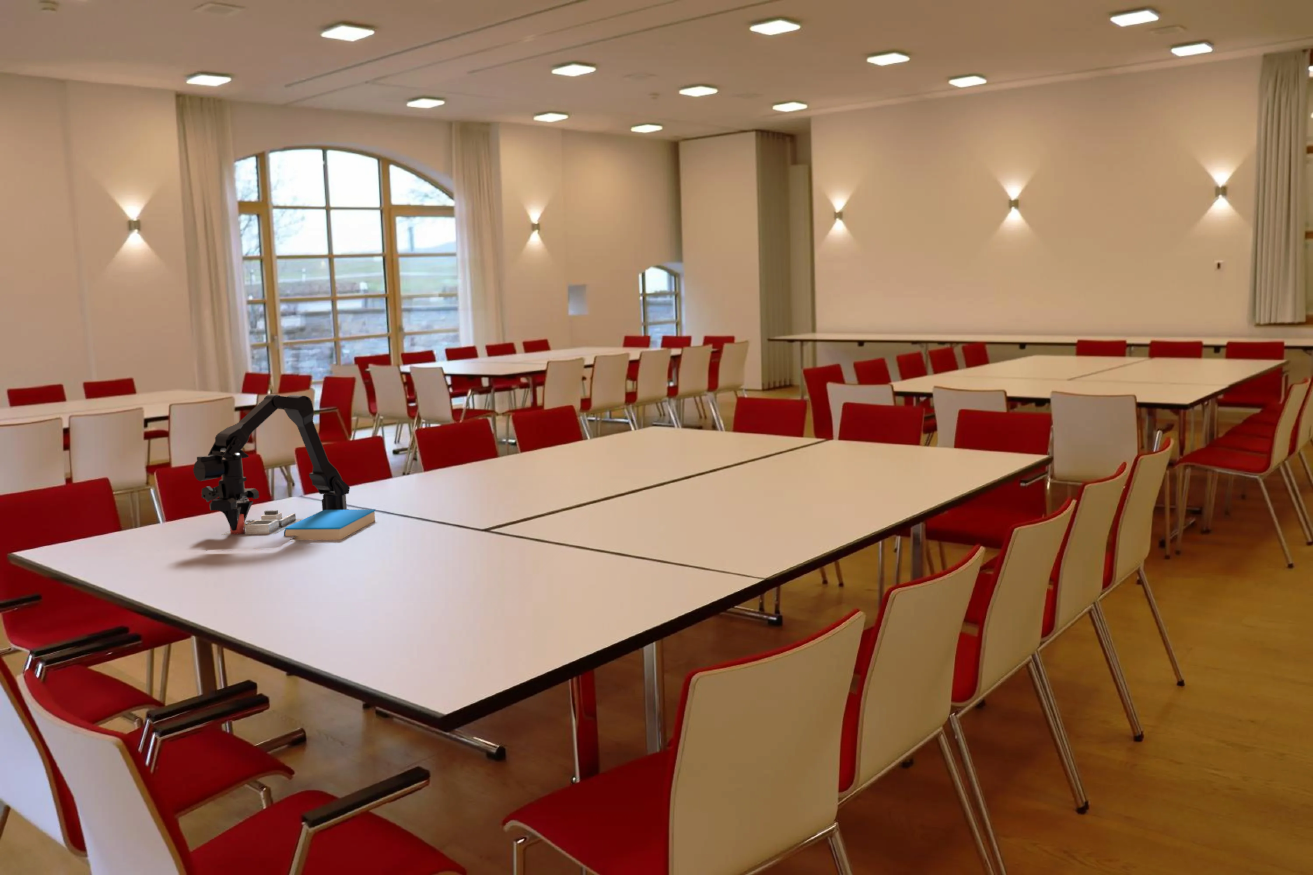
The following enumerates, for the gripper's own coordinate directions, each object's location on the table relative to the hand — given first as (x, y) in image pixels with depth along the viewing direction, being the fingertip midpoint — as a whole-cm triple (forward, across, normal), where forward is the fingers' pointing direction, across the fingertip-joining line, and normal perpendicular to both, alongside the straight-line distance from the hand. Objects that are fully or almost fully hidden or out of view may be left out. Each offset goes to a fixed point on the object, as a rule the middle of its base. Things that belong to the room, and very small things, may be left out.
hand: (237, 528), depth 311 cm
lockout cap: (+1, 0, 0) cm, 1 cm away
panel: (+2, -7, +4) cm, 9 cm away
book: (+3, -6, +25) cm, 26 cm away
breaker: (+1, -7, +7) cm, 10 cm away
